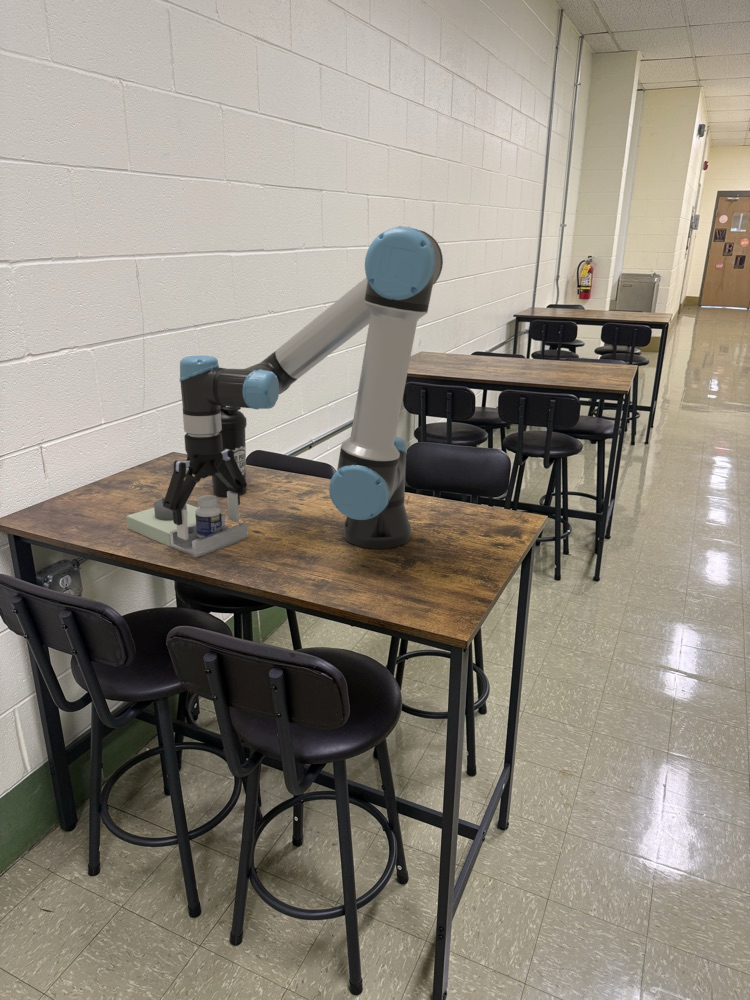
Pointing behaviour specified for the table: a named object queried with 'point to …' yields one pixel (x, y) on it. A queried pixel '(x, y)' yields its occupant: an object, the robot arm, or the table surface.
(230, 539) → the grey metal channel
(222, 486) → the water bottle
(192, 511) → the green box with knob
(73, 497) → the table surface
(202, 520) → the pill bottle
